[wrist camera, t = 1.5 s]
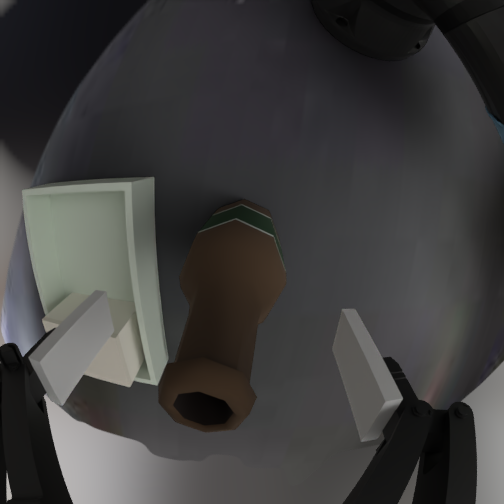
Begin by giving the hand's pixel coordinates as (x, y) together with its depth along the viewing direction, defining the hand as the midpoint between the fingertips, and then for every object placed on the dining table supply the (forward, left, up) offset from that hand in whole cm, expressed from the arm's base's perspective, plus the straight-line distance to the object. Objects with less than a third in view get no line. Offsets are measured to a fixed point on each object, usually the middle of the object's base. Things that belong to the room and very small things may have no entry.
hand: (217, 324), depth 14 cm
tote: (+19, +7, -18) cm, 27 cm away
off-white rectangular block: (+19, +14, -17) cm, 29 cm away
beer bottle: (0, 0, -18) cm, 18 cm away
